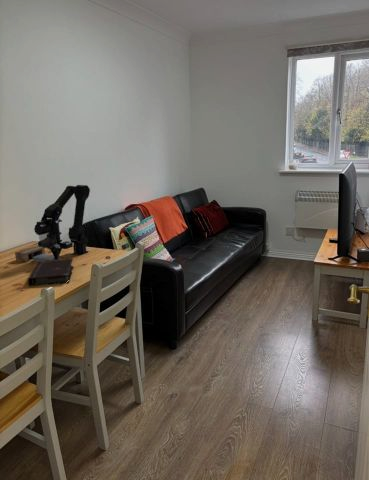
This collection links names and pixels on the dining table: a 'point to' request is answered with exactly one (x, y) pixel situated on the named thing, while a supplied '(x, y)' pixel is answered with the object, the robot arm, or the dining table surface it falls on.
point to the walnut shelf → (28, 253)
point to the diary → (51, 272)
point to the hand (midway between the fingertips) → (56, 259)
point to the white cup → (42, 236)
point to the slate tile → (44, 257)
